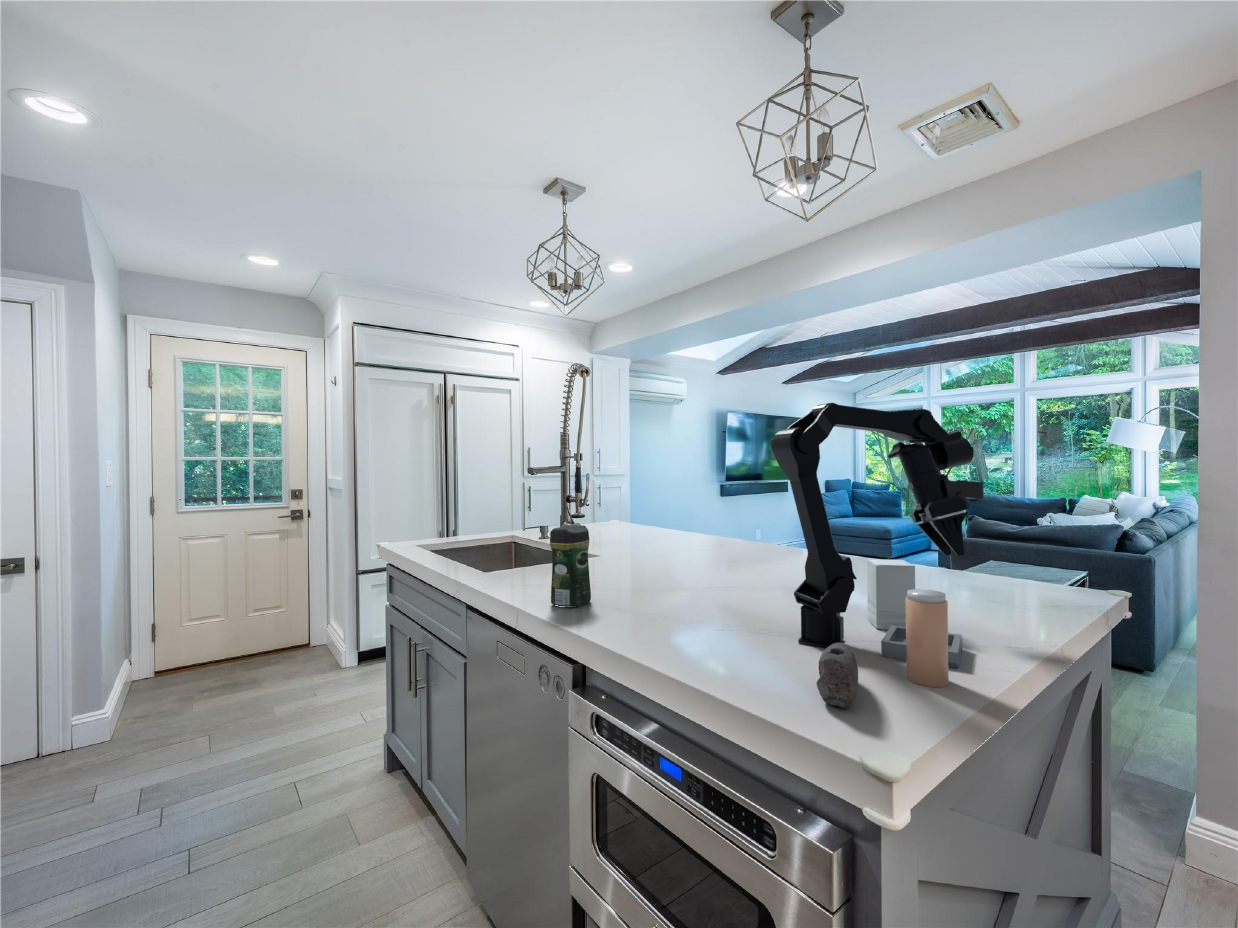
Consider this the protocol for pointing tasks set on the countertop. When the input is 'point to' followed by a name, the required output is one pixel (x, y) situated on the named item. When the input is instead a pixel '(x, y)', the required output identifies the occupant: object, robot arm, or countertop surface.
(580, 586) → the coffee jar
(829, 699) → the perforated stone tool
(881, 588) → the supplement box
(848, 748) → the countertop surface
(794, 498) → the robot arm
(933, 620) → the shaker
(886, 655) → the tray
